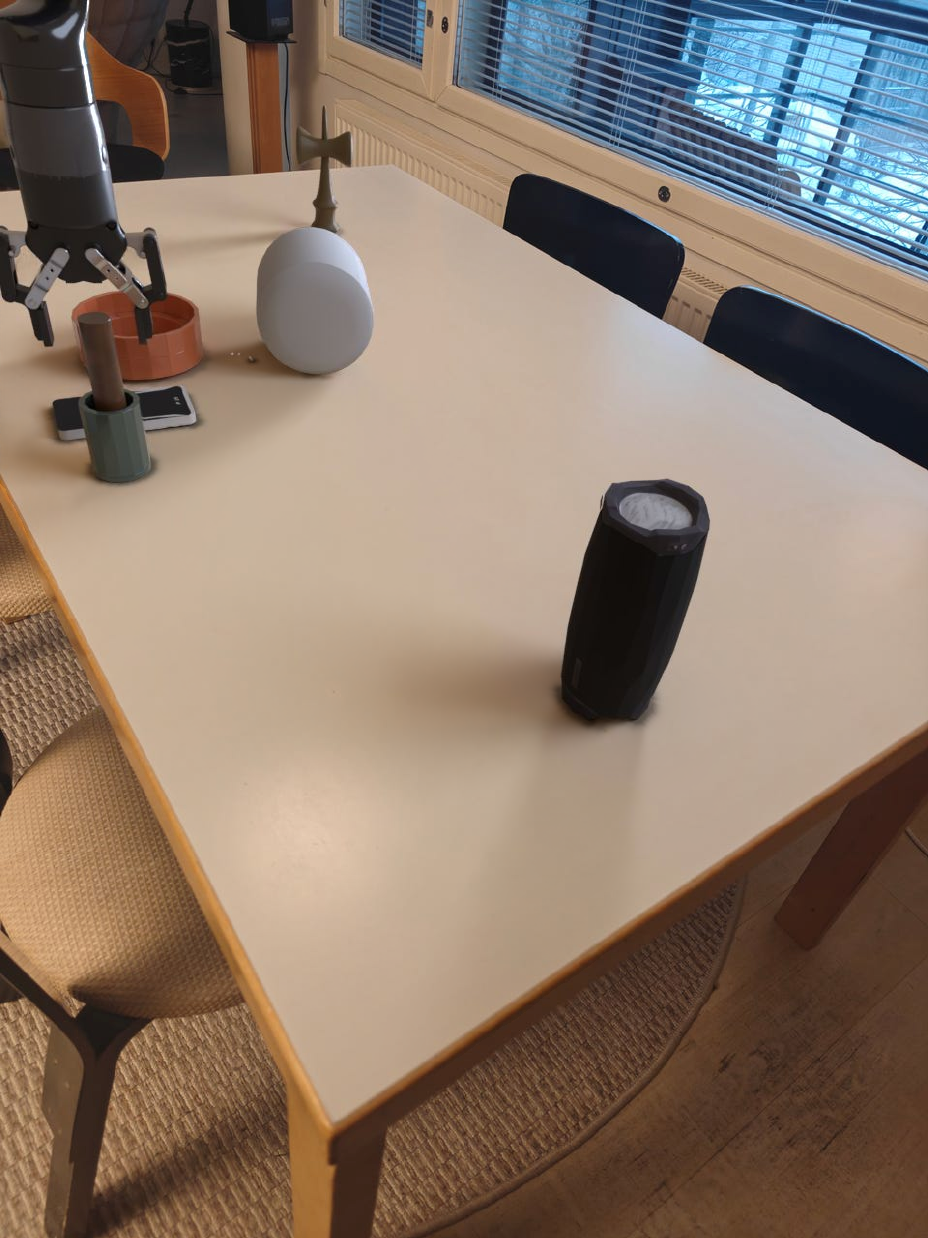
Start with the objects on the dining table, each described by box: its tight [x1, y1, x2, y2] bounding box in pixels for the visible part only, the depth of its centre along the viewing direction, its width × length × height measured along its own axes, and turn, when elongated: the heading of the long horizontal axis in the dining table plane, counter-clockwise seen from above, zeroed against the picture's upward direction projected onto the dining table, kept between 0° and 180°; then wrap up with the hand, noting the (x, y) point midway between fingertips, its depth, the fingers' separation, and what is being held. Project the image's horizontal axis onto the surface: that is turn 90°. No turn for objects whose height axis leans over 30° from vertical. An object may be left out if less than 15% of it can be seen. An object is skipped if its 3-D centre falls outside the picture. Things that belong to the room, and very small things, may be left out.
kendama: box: [295, 105, 354, 234], centre depth 149 cm, size 6×10×20 cm, turn 98°
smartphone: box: [51, 385, 197, 442], centre depth 101 cm, size 8×1×15 cm
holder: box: [79, 387, 152, 483], centre depth 90 cm, size 6×6×8 cm
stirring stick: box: [77, 312, 127, 412], centre depth 87 cm, size 3×3×16 cm
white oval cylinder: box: [230, 226, 375, 375], centre depth 116 cm, size 19×15×25 cm
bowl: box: [71, 290, 205, 381], centre depth 111 cm, size 15×15×6 cm
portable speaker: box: [560, 478, 711, 721], centre depth 68 cm, size 9×9×20 cm
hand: (96, 342), depth 84 cm, fingers open, 8 cm apart
